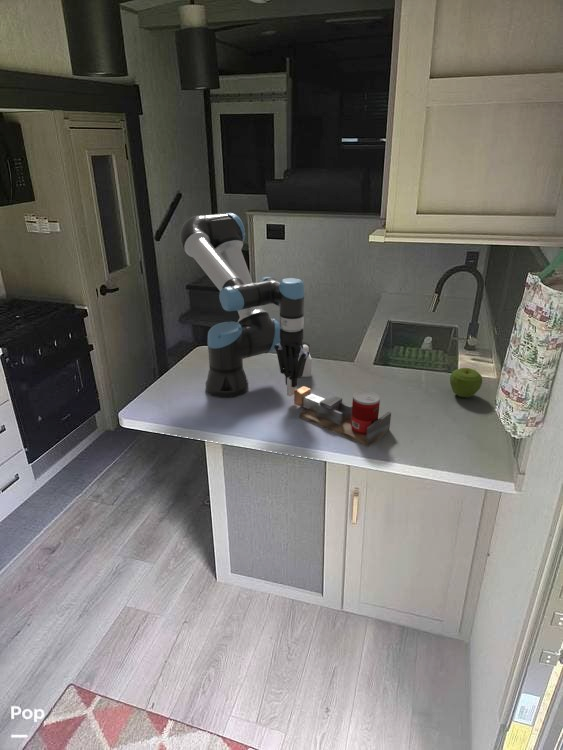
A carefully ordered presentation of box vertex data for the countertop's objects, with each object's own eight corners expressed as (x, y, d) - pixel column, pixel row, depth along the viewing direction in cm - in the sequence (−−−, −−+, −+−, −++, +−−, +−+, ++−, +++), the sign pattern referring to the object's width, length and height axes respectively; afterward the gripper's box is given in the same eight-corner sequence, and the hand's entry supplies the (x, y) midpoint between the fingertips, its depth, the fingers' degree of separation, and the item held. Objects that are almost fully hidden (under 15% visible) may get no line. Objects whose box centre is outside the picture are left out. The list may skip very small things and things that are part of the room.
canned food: (376, 436, 154) (379, 404, 149) (349, 433, 155) (351, 401, 150) (377, 423, 161) (380, 392, 156) (351, 420, 162) (353, 389, 157)
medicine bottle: (290, 369, 198) (290, 340, 193) (308, 368, 199) (309, 339, 194) (292, 377, 192) (293, 347, 187) (311, 376, 193) (312, 347, 188)
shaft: (294, 403, 171) (294, 391, 169) (303, 398, 174) (303, 386, 172) (331, 419, 162) (331, 405, 160) (339, 413, 165) (340, 400, 163)
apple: (448, 386, 186) (452, 361, 182) (479, 391, 183) (484, 365, 179) (446, 399, 177) (450, 373, 173) (478, 405, 174) (483, 378, 169)
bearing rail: (299, 417, 166) (299, 399, 163) (321, 403, 174) (322, 386, 172) (368, 446, 151) (370, 427, 148) (389, 430, 159) (391, 411, 156)
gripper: (268, 326, 165) (269, 392, 175) (300, 336, 157) (299, 404, 167) (283, 320, 170) (283, 384, 180) (315, 329, 162) (313, 396, 172)
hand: (291, 394), depth 174 cm, fingers closed
